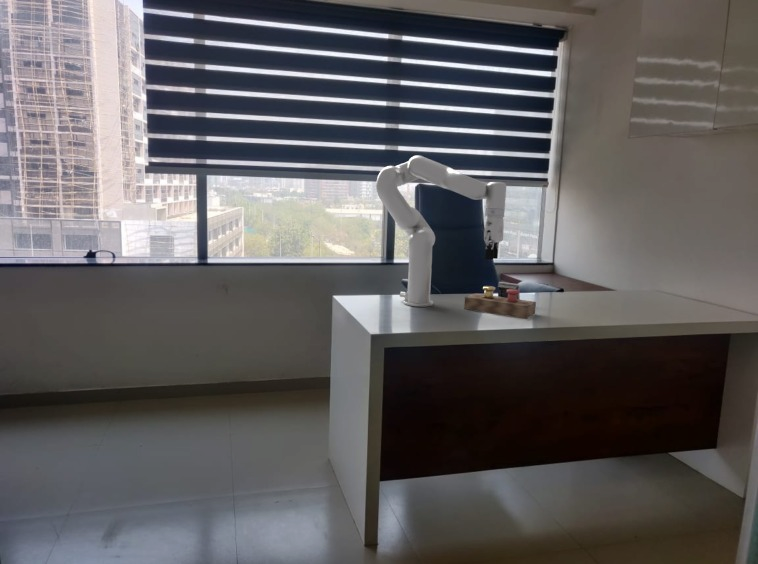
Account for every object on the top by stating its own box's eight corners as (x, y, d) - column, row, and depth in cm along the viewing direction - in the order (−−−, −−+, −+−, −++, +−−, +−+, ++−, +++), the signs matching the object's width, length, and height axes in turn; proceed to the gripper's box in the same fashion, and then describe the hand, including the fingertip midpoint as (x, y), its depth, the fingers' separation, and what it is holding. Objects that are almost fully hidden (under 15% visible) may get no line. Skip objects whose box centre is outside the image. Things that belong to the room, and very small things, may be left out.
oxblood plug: (503, 305, 222) (504, 290, 221) (507, 303, 226) (509, 288, 225) (515, 307, 219) (517, 292, 218) (519, 305, 223) (521, 290, 222)
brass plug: (480, 302, 227) (481, 287, 226) (484, 300, 231) (485, 285, 230) (491, 303, 224) (492, 288, 223) (496, 301, 229) (497, 287, 227)
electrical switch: (519, 304, 243) (520, 283, 241) (515, 307, 239) (516, 286, 237) (499, 301, 248) (500, 280, 246) (495, 303, 244) (495, 283, 242)
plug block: (464, 308, 228) (464, 296, 227) (474, 304, 237) (475, 293, 236) (526, 318, 214) (527, 306, 213) (534, 314, 223) (536, 301, 223)
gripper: (496, 214, 213) (492, 261, 216) (510, 213, 227) (507, 258, 230) (477, 213, 217) (474, 259, 220) (493, 212, 231) (490, 256, 234)
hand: (491, 258), depth 225 cm, fingers open, 3 cm apart
